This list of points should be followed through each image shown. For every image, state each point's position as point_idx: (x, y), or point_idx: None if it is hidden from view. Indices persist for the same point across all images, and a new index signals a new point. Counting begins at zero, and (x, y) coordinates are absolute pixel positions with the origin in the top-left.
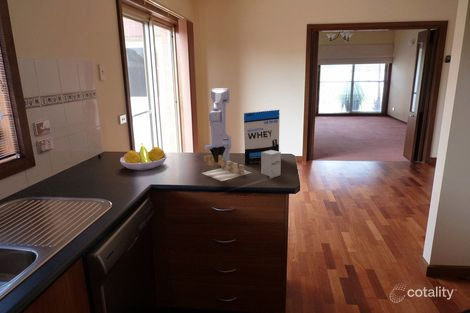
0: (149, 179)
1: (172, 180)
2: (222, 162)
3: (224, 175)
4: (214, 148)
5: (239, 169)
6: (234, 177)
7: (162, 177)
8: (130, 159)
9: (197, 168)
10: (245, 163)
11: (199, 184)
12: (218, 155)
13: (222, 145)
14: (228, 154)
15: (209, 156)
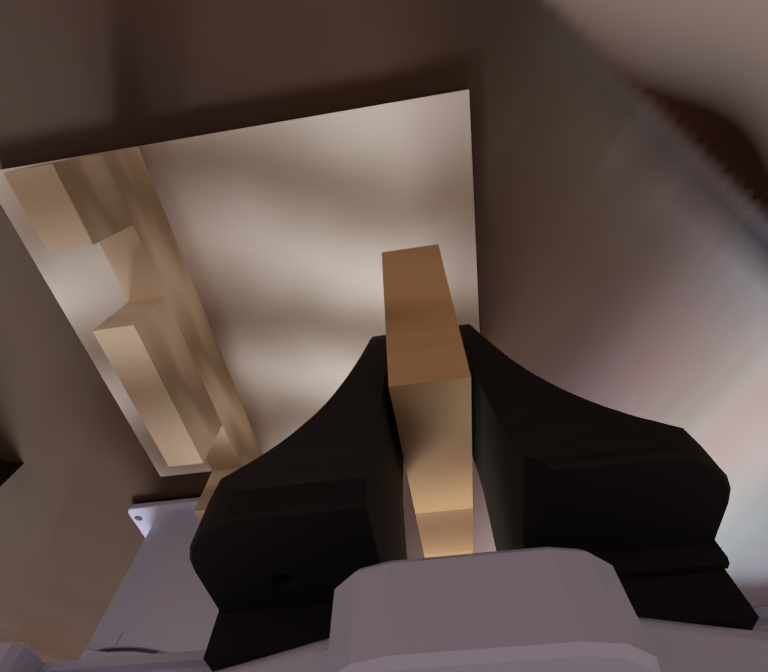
0: None
1: (743, 432)
2: (384, 275)
3: (333, 268)
4: (656, 595)
5: (124, 214)
6: (258, 128)
7: (734, 516)
8: None
9: (418, 554)
10: (7, 471)
11: (673, 205)
12: (469, 383)
13: (440, 611)
14: (116, 606)
15: (472, 541)
